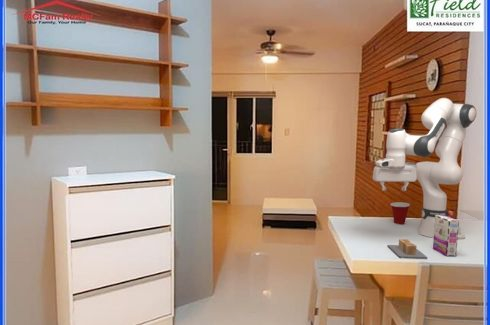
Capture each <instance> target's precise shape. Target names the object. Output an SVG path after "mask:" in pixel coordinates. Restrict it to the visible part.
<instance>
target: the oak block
mask: <svg viewBox="0 0 490 325" xmlns="http://www.w3.org/2000/svg"><path fill="white" fill-rule="evenodd" d="M398 245H399V248H400V249H401V250H402V251H403V252H404V253H406V254H407V255H416V249H417V245H415V244H414V243H413V241H410V240H409V239H404V238H403V239H402V238H401V239H400V238H399V239H398Z"/></svg>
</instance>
